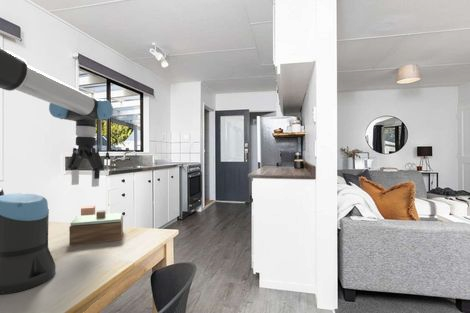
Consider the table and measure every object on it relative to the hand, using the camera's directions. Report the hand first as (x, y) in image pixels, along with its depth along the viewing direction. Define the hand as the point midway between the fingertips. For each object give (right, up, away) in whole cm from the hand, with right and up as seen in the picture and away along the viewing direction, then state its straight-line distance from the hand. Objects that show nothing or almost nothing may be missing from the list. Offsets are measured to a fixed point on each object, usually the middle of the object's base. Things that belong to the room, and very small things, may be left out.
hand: (84, 185), depth 111 cm
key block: (-2, -21, +6) cm, 22 cm away
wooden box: (+9, -21, -5) cm, 23 cm away
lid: (+9, -14, -6) cm, 17 cm away
